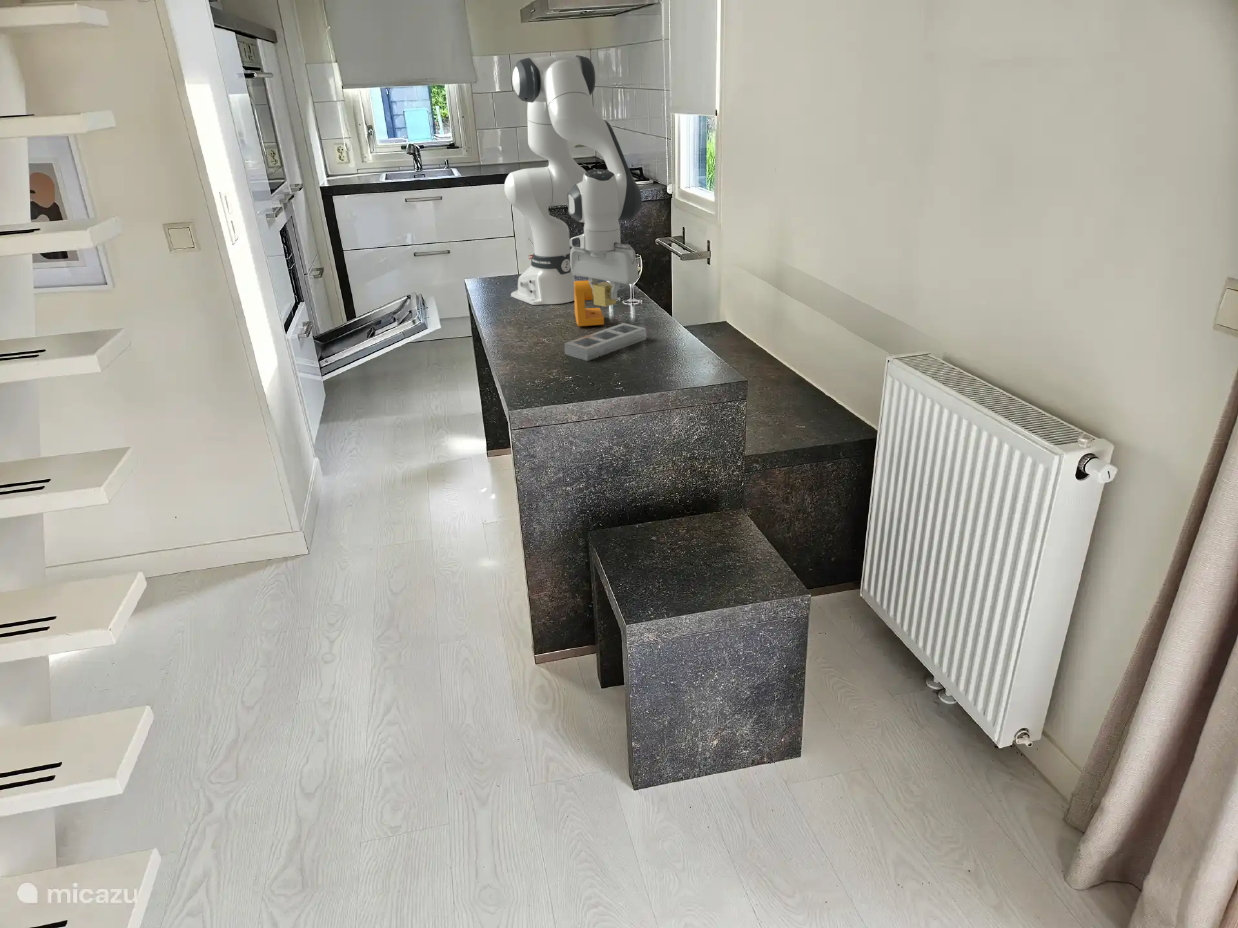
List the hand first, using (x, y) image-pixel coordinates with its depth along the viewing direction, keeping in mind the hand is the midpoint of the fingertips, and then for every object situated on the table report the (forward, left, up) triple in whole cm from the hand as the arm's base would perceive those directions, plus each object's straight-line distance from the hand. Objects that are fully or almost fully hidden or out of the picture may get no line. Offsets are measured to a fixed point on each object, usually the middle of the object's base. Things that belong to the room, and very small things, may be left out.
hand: (604, 297), depth 204 cm
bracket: (-19, +13, -13) cm, 27 cm away
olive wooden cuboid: (0, 0, -2) cm, 2 cm away
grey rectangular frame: (0, 0, -13) cm, 13 cm away
